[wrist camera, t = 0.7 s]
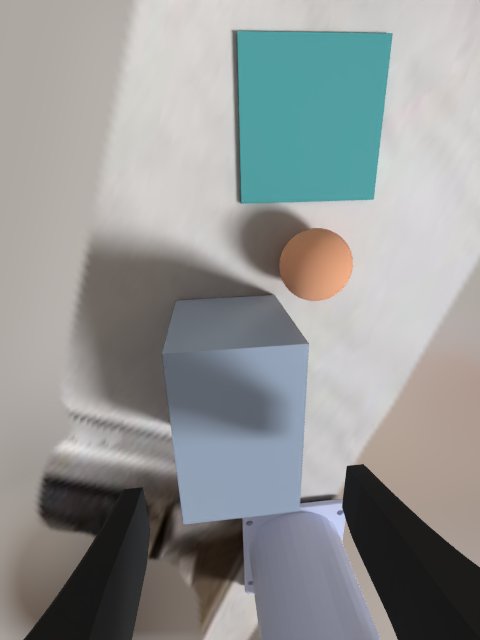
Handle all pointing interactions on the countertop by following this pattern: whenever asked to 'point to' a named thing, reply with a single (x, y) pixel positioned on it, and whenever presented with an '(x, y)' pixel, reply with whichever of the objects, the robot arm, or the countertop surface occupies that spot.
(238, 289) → the countertop surface
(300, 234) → the egg
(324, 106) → the mark
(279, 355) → the matte gray cuboid
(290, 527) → the robot arm
